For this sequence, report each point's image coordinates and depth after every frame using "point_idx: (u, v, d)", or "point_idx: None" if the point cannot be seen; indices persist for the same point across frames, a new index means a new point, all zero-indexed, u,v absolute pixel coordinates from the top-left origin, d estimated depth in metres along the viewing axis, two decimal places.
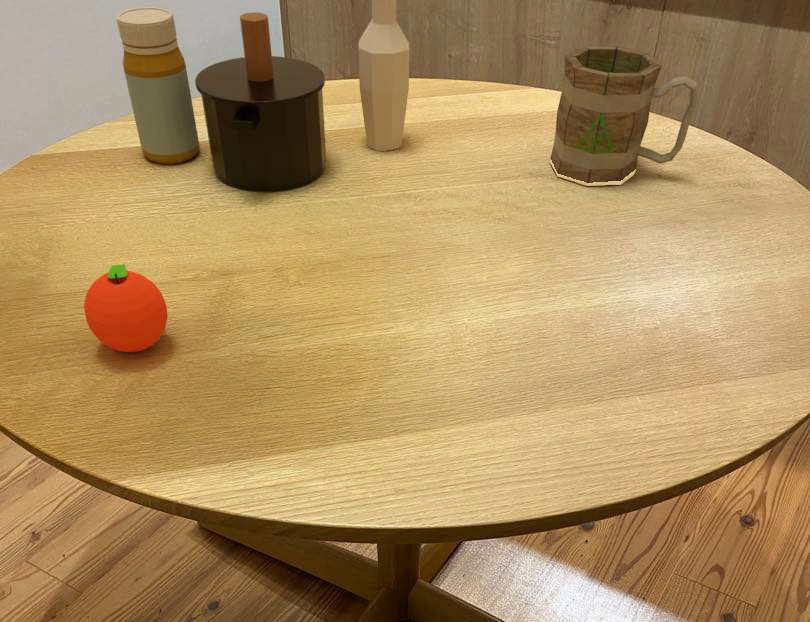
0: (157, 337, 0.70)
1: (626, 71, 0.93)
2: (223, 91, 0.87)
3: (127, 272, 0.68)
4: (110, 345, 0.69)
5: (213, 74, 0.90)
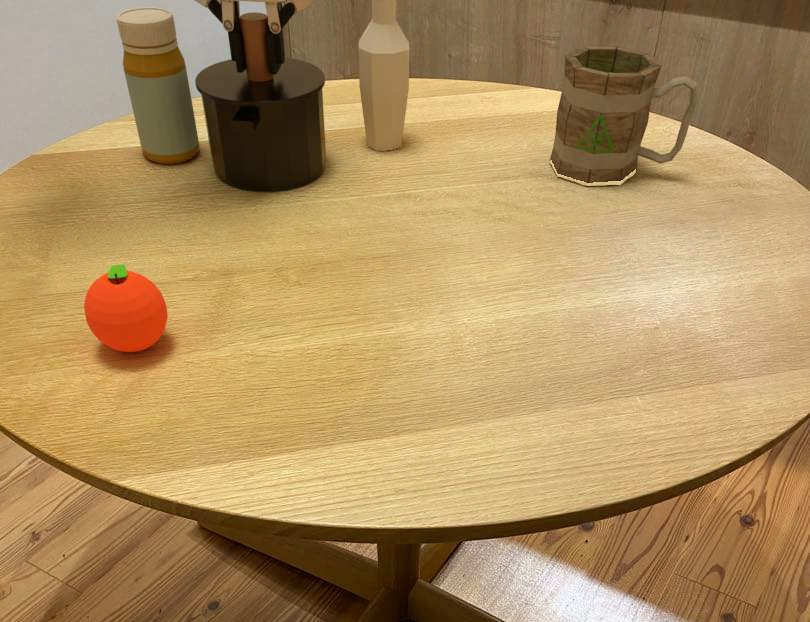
0: (157, 337, 0.70)
1: (626, 71, 0.93)
2: (223, 91, 0.87)
3: (127, 272, 0.68)
4: (110, 345, 0.69)
5: (213, 74, 0.90)
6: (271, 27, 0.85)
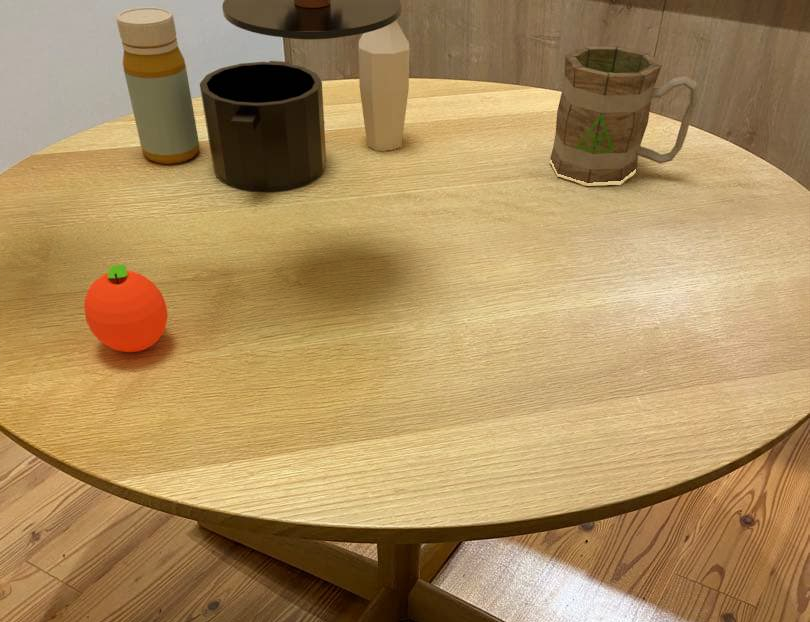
0: (157, 337, 0.70)
1: (626, 71, 0.93)
2: (263, 19, 0.62)
3: (127, 272, 0.68)
4: (110, 345, 0.69)
5: None
6: None
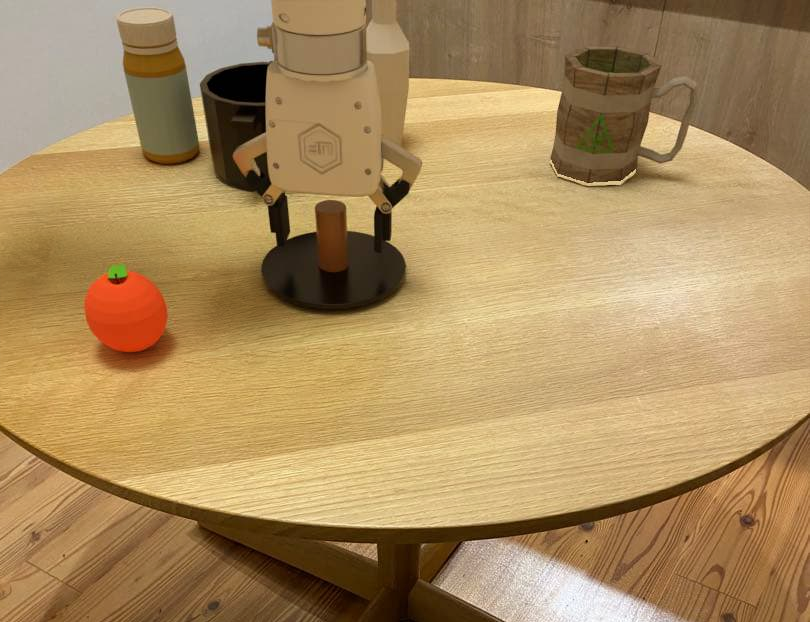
0: (157, 337, 0.70)
1: (626, 71, 0.93)
2: (294, 288, 0.77)
3: (127, 272, 0.68)
4: (110, 345, 0.69)
5: (280, 260, 0.80)
6: (381, 207, 0.74)
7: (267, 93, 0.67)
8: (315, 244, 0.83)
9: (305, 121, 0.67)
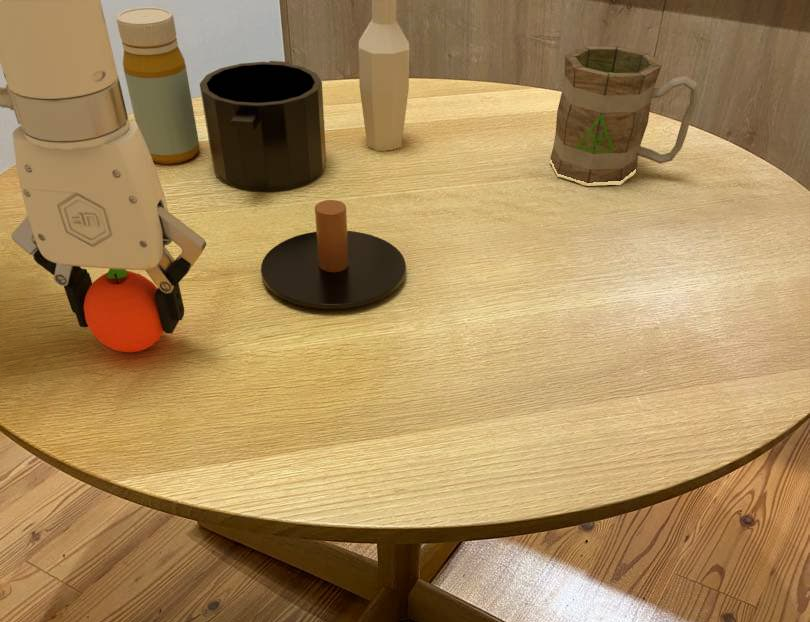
0: (157, 337, 0.70)
1: (626, 71, 0.93)
2: (294, 288, 0.77)
3: (126, 272, 0.68)
4: (110, 345, 0.69)
5: (280, 260, 0.80)
6: (161, 286, 0.66)
7: None
8: (315, 244, 0.83)
9: (61, 190, 0.59)
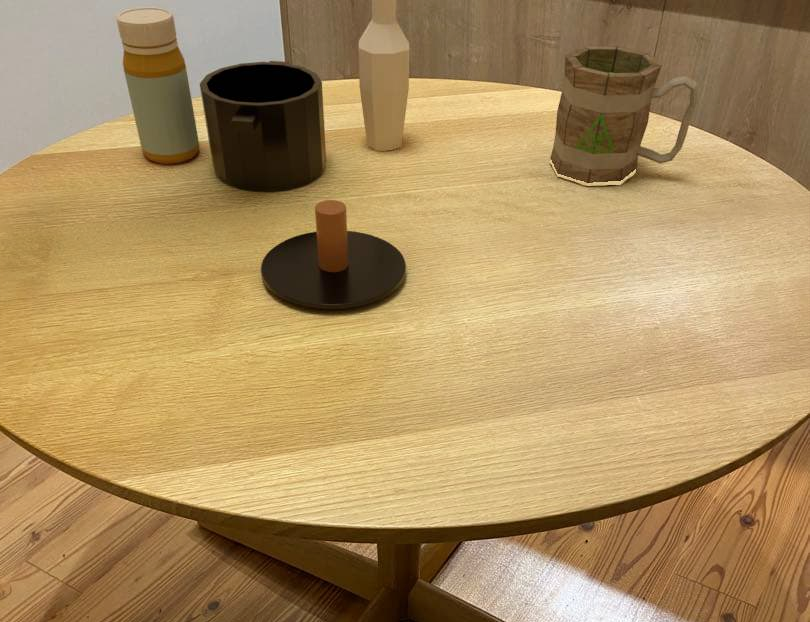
0: None
1: (626, 71, 0.93)
2: (294, 288, 0.77)
3: None
4: None
5: (280, 260, 0.80)
6: None
7: None
8: (315, 244, 0.83)
9: None
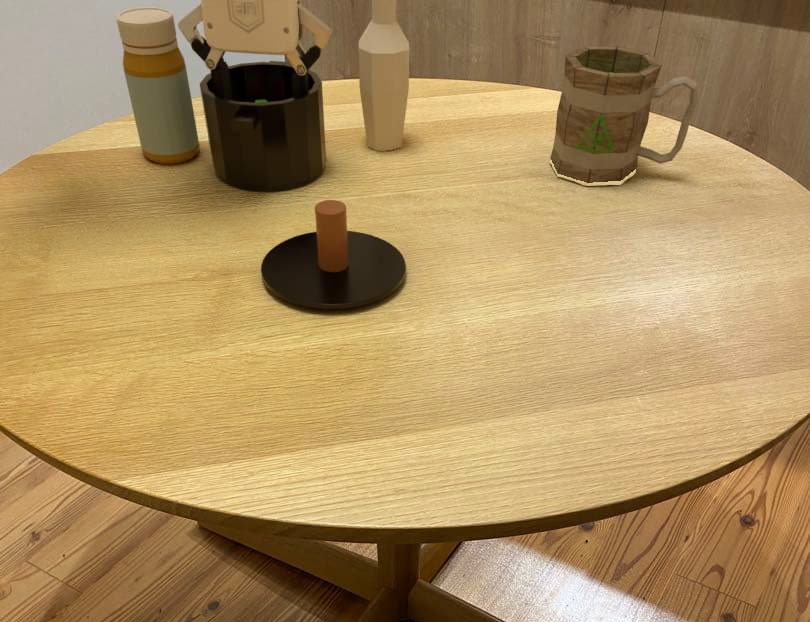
0: None
1: (626, 71, 0.93)
2: (294, 288, 0.77)
3: None
4: None
5: (280, 260, 0.80)
6: (297, 69, 0.88)
7: None
8: (315, 244, 0.83)
9: None
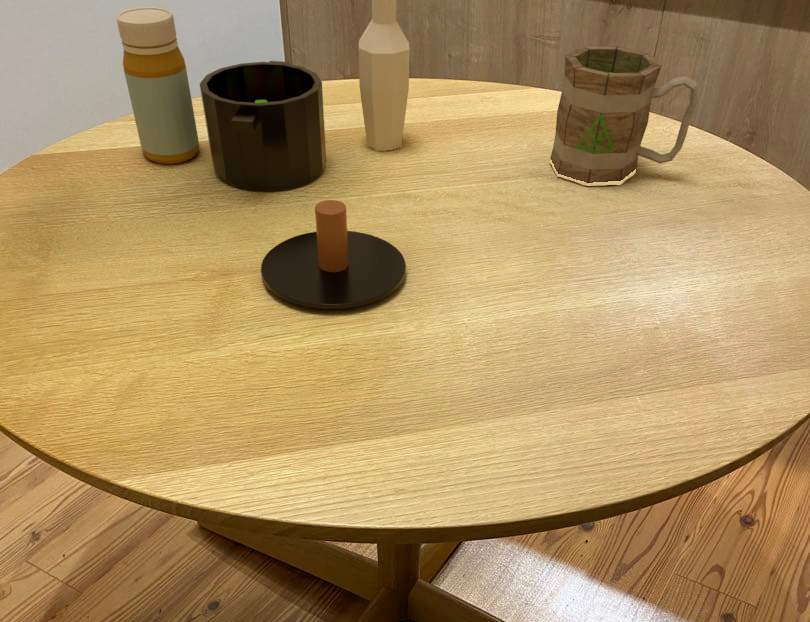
0: None
1: (626, 71, 0.93)
2: (294, 288, 0.77)
3: None
4: None
5: (280, 260, 0.80)
6: None
7: None
8: (315, 244, 0.83)
9: None
